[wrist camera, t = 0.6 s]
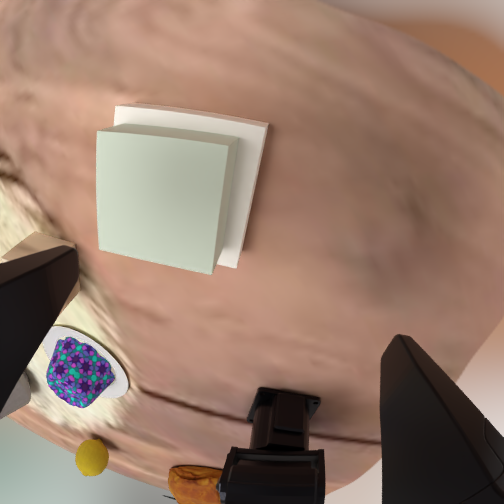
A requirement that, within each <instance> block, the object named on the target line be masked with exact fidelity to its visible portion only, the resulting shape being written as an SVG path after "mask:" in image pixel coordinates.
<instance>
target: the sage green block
mask: <svg viewBox="0 0 504 504" xmlns="http://www.w3.org/2000/svg"><path fill="white" fill-rule="evenodd" d="M238 142H239V137H236V136H230V135H224V134H217V133H210V132H203V131H195V130H187V129H179V128H170V127H161V126H150V125H139V124H126V123H123V124H120V125H116V126H112V127H109V128H105V129H102V130H99V131H97V147H96V198H97V223H98V239H99V250H103V251H107V252H112V253H116V254H120V255H124V256H129V257H133V258H137V259H142V260H146V261H150V262H155V263H159V264H164V265H168V266H173V267H177V268H182V269H186V270H191V271H195V272H200V273H205V274H209V275H212V273H213V271H214V269H215V266H216V264H217V262H218V259H219V257H220V255H221V252H222V250H223V244H224V236H225V229H226V222H227V215H228V208H229V201H230V194H231V187H232V181H233V174H234V168H235V161H236V155H237V148H238Z"/></svg>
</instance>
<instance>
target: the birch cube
mask: <svg viewBox="0 0 504 504" xmlns="http://www.w3.org/2000/svg"><path fill="white" fill-rule="evenodd" d="M61 245H67V246H70V247H73V248H75V249H76V245H75V243H72V242H69V241H65V240H62V239H58V238H55V237H51V236H48V235H45V234H41V233H38V232H33V233H32V234H31V235H29V236H28V237H27V238H25V239H24V240H23V241H21V242H20V243H19V244H17V245H16V246H15V247H14V248H12V249H11V250H10V251H9V252H7V253H6V254H5V255H4V256H2V257H1V261H2V263H4V262H7V261H10V260H13V259H17V258H20V257H23V256H27V255H30V254H33V253H37V252H40V251H44V250H47V249H51V248H54V247H58V246H61ZM80 290H81V289H80V282H79V278H78V281H77V283H76V285H75V286H74V288H73V290H72V292H71V294H70V295H69V297H68V299H67V301H66V303H65V304H64V306H63V308H62V310H61V312H62V311H63V310H64V309H65V308H66V306H67V305H68V304H69V303H70V302H71V301H72V299H73V298H74V297H75V296H76V295H77V294H78V292H79V291H80ZM61 312H60V314H61ZM60 314H59V315H60Z"/></svg>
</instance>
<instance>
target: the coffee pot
mask: <svg viewBox="0 0 504 504" xmlns="http://www.w3.org/2000/svg"><path fill="white" fill-rule="evenodd" d="M28 382H29V379H28V377H27V374H26V373H25V371H24V372H23V374H22V375H21V377H20V379H19V381H18V382H17V384H16V386H15V388H14V389H13V391H12V393H11V395H10V397H9V398H8V400H7V402H6V404H5V406H4V408H3V410H2V412H1V413H0V419H2V418H3V417H5V416H7V415H9V414H11V413H12V412H14V411H16V410H18V409H19V408H21V407H23V406H25V405H26V404H28V403H29V401H30V399H31V390H30V385H29V383H28Z"/></svg>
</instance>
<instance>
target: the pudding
mask: <svg viewBox="0 0 504 504" xmlns="http://www.w3.org/2000/svg"><path fill="white" fill-rule="evenodd" d="M63 336H70V337H66V339H65V341H64V340H61V339H60V340H58V339H59V338H60V337H63ZM72 337H75V338H78V339H80V340H82V341H84V342H86V343H88V344H90V345H91V346H90V345H88V344H86V343H80V342H79V341H77V340H76V339H75V338H72ZM57 340H58V341H57ZM42 342H43V347H44V350H45V352H46V354H47V356H48V358H49V360H50V364H49V367H48V370H47V375H46V378H47V383H48V385H49V387H50V388H51V389H52V390H53V391H54V392H55V394H56V395H57V396H58V397H59V398H61V399H63V400H65V401H66V402H67V403H68V404H70V405H73V406H77V407H79V408H85V407H87V406H89V405H90V404H91V403H92V402H93V401H94V400H95V399H96V398H97V397H98V396H101V397H105V398H117V397H121V396H123V395H124V394H125V393H126V392H127V390H128V380H127V377H126V375H125V372H124V371H123V369H122V368H121V366H120V365H119V363H118V362H117V361H116V360H115V359H114V358H113V357H112V356H111V355H110V354H109V352H107V351H106V350H105V349H104V348H103V347H102V346H100V345H99V344H98V343H96V342H95V341H93V340H92V339H90V338H89V337H87V336H85V335H84V334H82V333H80V332H78V331H75V330H73V329H70V328H66V327H61V326H54V327H51V329H50V330H49V332H48V333H47V335H46V337H45V338H44V340H43V341H42ZM56 342H57V344H56ZM92 346H93V347H94V348H95V349H97V350H98V351H99V352H100V353H101V354H102V355H103V356H104V357H105V358H106V359H107V360H108V361H109V362H110V363H109V362H108V361H107V360H106V359H105V358H103V357H101V356H100V355H99V354H98V353H97V351H96V350H95V349H94V348H93V347H92ZM110 364H111V365H112V367H113V369H114V371H115V374H116V380H115V382H114V384H113V385H111V386H109V385H110V384H111V383H112V382H113V381H114V379H115V377H114V374H113V373H112V372H111V371H110V370H111V365H110Z"/></svg>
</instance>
